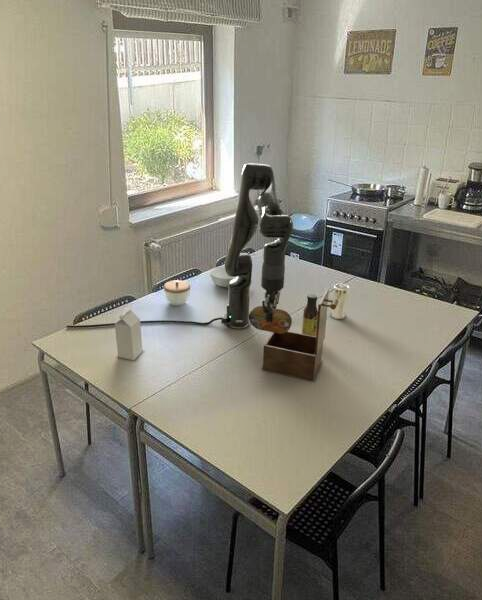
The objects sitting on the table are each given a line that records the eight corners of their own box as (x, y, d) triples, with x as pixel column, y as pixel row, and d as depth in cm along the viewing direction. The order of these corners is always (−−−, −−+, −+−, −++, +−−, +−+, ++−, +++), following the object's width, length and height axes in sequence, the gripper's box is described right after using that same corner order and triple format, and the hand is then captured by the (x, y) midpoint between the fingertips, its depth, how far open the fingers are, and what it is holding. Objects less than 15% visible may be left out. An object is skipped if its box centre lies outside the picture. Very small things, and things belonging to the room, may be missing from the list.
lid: (318, 304, 167) (333, 306, 165) (326, 288, 179) (341, 290, 177) (314, 355, 176) (329, 358, 174) (322, 336, 188) (336, 339, 186)
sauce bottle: (315, 342, 205) (319, 300, 196) (300, 341, 206) (304, 298, 197) (316, 335, 211) (320, 293, 202) (301, 333, 212) (305, 292, 203)
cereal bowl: (207, 289, 251) (207, 276, 248) (214, 276, 266) (213, 264, 263) (240, 292, 249) (240, 279, 246) (244, 279, 264) (245, 267, 260)
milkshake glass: (336, 320, 223) (340, 291, 216) (327, 314, 228) (330, 285, 222) (348, 317, 226) (352, 288, 219) (339, 311, 231) (342, 282, 225)
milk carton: (142, 351, 197) (139, 309, 189) (133, 360, 191) (130, 317, 183) (127, 348, 199) (123, 306, 191) (118, 357, 193) (113, 314, 185)
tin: (248, 327, 173) (248, 306, 168) (251, 322, 175) (251, 302, 171) (289, 336, 168) (290, 315, 163) (292, 331, 170) (293, 310, 166)
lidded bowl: (176, 294, 246) (175, 274, 241) (195, 301, 239) (195, 280, 234) (159, 303, 236) (157, 282, 231) (178, 310, 230) (178, 289, 225)
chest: (262, 369, 187) (263, 345, 182) (273, 351, 199) (274, 328, 194) (313, 381, 181) (315, 356, 176) (321, 361, 192) (323, 337, 188)
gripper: (268, 264, 169) (266, 309, 176) (255, 280, 157) (253, 326, 165) (289, 268, 166) (286, 313, 174) (277, 284, 155) (274, 331, 162)
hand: (270, 319), depth 169 cm, fingers closed on tin, 2 cm apart
